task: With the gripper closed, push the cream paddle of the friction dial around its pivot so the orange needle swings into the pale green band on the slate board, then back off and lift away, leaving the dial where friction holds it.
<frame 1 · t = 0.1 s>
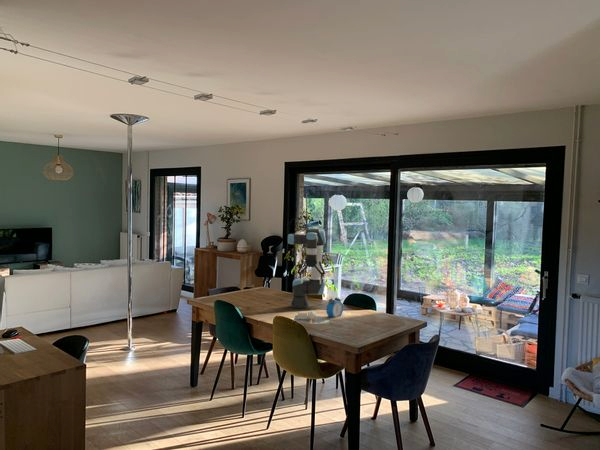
hand: (311, 283, 332), 28 cm above the table, fingers open, 13 cm apart
alarm clock: (334, 318, 347), on the table
dial: (306, 316, 330), point 5 cm above the table, hinge at 0.0°
tuner board: (311, 321, 334), on the table
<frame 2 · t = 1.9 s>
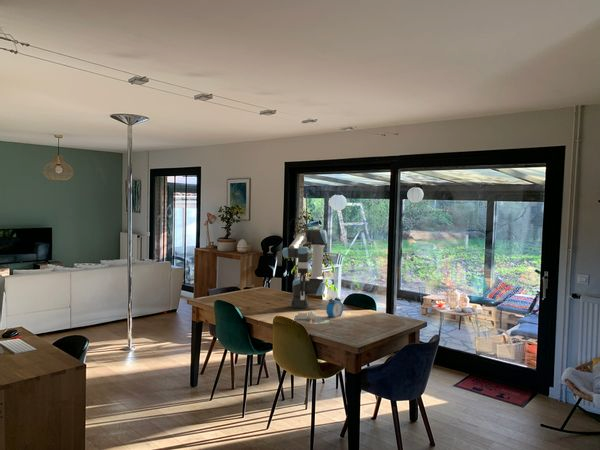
hand: (302, 299, 340), 15 cm above the table, fingers closed
nothing on the table moved.
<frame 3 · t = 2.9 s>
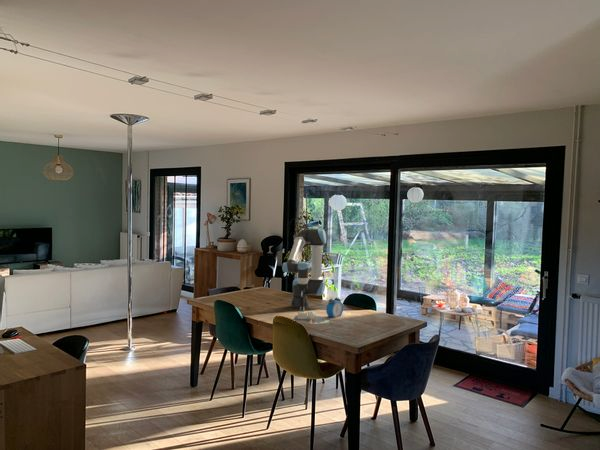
hand: (302, 315, 341), 3 cm above the table, fingers closed
nothing on the table moved.
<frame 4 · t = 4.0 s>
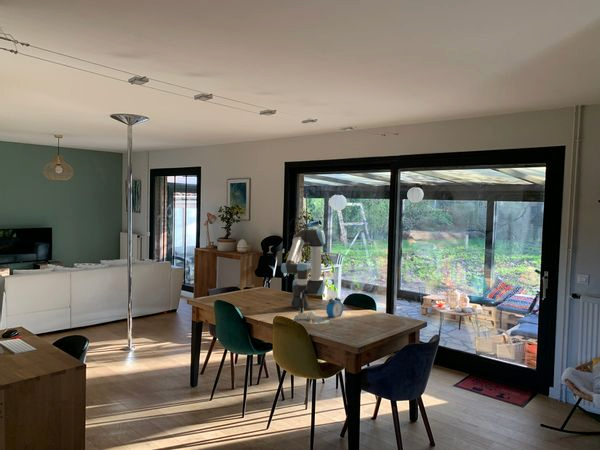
hand: (301, 316, 337), 3 cm above the table, fingers closed
dial: (306, 316, 330), point 5 cm above the table, hinge at 0.2°, touching gripper
everything else where it was.
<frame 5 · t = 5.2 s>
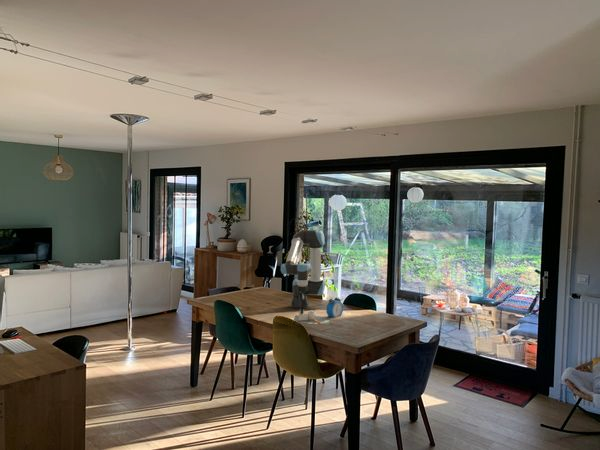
hand: (301, 317, 333), 3 cm above the table, fingers closed
dial: (310, 317, 328), point 5 cm above the table, hinge at 31.7°, touching gripper
everything else where it was.
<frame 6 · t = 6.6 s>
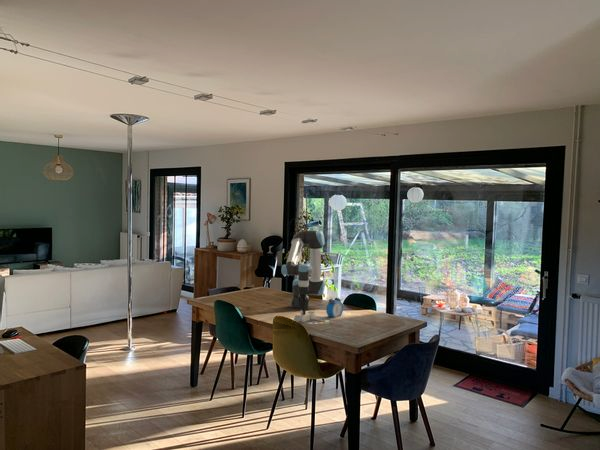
hand: (303, 318, 331), 3 cm above the table, fingers closed
dial: (314, 317, 329), point 5 cm above the table, hinge at 56.8°, touching gripper
everything else where it was.
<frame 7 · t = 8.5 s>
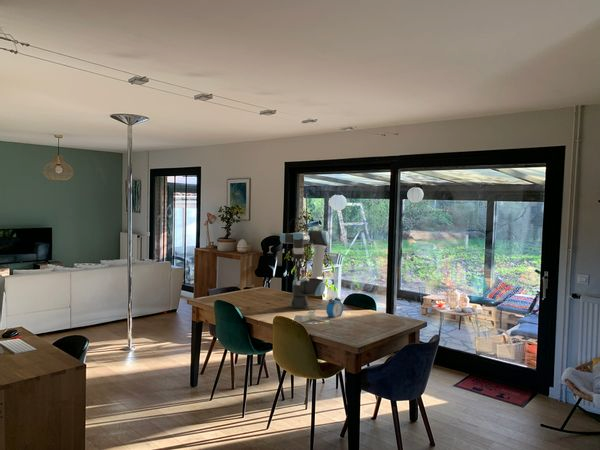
hand: (298, 284, 343), 25 cm above the table, fingers closed
dial: (314, 317, 329), point 5 cm above the table, hinge at 56.3°
everything else where it was.
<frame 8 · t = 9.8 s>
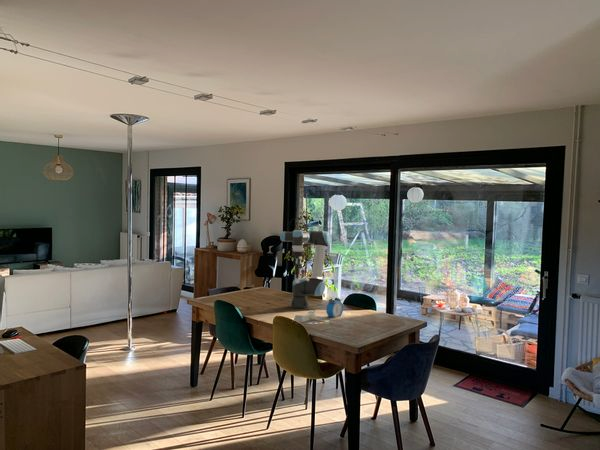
hand: (297, 282, 345), 26 cm above the table, fingers closed
nothing on the table moved.
at the end: dial at +56° (first picture: +0°); dial touching nothing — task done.
